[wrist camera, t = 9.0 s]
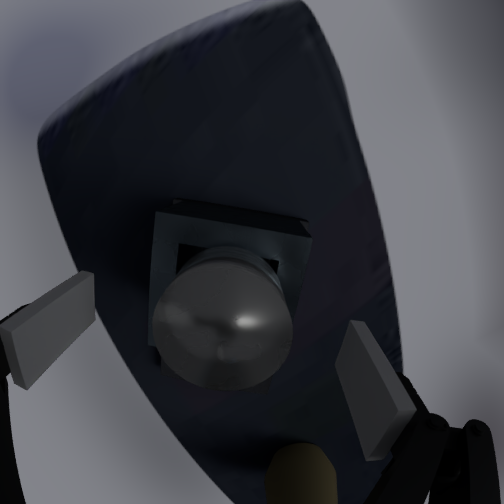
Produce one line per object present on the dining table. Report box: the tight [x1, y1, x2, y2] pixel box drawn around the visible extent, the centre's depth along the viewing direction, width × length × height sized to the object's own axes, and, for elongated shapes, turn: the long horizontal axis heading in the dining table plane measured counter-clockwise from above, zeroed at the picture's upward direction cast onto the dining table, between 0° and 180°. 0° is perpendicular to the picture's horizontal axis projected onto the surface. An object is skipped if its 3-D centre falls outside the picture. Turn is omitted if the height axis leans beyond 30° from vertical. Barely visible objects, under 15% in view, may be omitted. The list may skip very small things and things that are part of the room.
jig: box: [148, 198, 313, 394], centre depth 21 cm, size 16×10×7 cm, turn 170°
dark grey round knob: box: [152, 246, 293, 391], centre depth 18 cm, size 6×6×10 cm
